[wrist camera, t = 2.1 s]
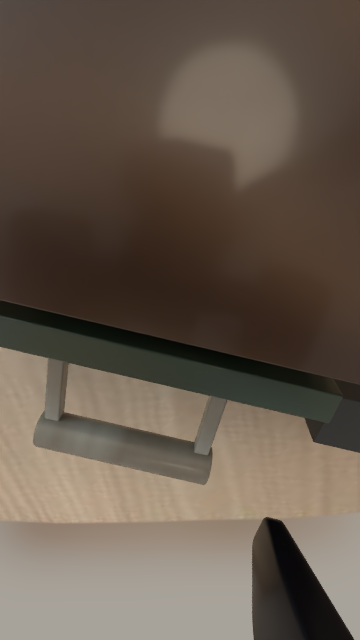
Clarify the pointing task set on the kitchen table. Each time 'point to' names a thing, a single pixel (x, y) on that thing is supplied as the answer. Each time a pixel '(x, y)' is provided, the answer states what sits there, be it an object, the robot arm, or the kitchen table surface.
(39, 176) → the cabinet
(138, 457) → the drawer
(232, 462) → the kitchen table surface
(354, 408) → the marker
